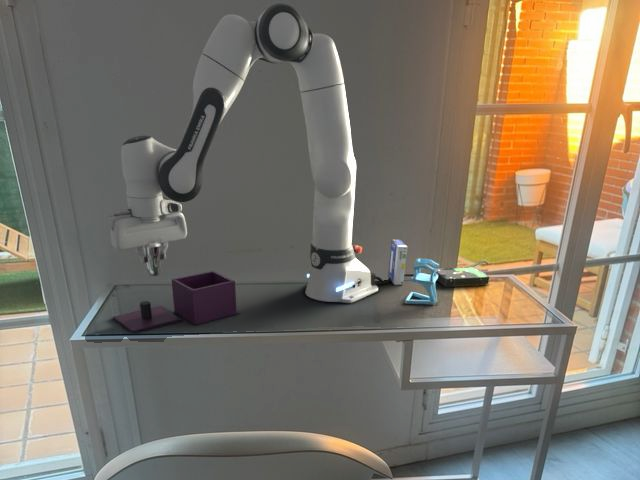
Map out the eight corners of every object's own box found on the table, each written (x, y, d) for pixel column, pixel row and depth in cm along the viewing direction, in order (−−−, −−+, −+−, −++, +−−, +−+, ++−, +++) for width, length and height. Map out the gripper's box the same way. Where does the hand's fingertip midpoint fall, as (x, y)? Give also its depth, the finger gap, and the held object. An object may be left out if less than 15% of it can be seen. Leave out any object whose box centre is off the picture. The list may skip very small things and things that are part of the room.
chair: (433, 307, 166) (439, 265, 159) (404, 303, 168) (409, 261, 162) (438, 299, 172) (444, 258, 165) (410, 294, 174) (415, 254, 168)
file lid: (160, 307, 159) (158, 291, 156) (180, 320, 152) (179, 303, 149) (113, 318, 151) (110, 301, 149) (132, 333, 144) (130, 315, 142)
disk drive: (445, 288, 181) (488, 284, 184) (446, 279, 179) (490, 276, 183) (431, 277, 189) (473, 274, 193) (432, 268, 188) (474, 266, 191)
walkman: (387, 276, 188) (391, 238, 181) (396, 276, 188) (400, 238, 182) (394, 285, 181) (398, 245, 175) (403, 284, 182) (407, 245, 175)
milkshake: (161, 277, 157) (158, 239, 152) (143, 275, 158) (138, 237, 152) (169, 273, 161) (165, 235, 155) (150, 271, 161) (146, 233, 156)
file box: (215, 302, 164) (213, 270, 159) (236, 313, 157) (235, 281, 152) (174, 312, 157) (171, 279, 152) (195, 324, 150) (192, 290, 145)
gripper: (112, 214, 142) (121, 270, 150) (187, 204, 154) (192, 256, 161) (101, 209, 146) (111, 264, 154) (175, 199, 158) (180, 251, 165)
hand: (153, 260), depth 157 cm, fingers closed on milkshake, 4 cm apart
